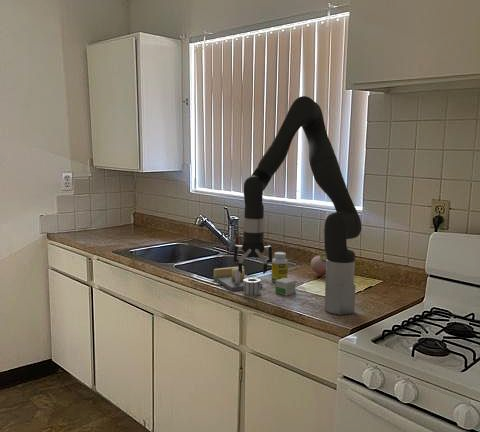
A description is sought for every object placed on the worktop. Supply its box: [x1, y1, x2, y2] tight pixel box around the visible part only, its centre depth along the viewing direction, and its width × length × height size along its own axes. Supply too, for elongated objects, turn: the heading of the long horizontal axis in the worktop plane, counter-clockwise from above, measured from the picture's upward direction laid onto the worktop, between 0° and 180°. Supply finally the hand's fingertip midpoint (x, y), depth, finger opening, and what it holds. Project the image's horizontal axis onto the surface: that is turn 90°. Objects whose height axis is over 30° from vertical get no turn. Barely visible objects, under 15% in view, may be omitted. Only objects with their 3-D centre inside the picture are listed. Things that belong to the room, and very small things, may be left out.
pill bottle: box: [271, 251, 289, 283], centre depth 200 cm, size 6×6×12 cm
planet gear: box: [242, 277, 262, 297], centre depth 183 cm, size 6×6×5 cm
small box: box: [274, 277, 297, 296], centre depth 185 cm, size 6×6×5 cm
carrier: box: [213, 265, 263, 292], centre depth 196 cm, size 18×13×8 cm
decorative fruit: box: [310, 253, 327, 277], centre depth 209 cm, size 9×8×10 cm
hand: (252, 272), depth 183 cm, fingers open, 8 cm apart
